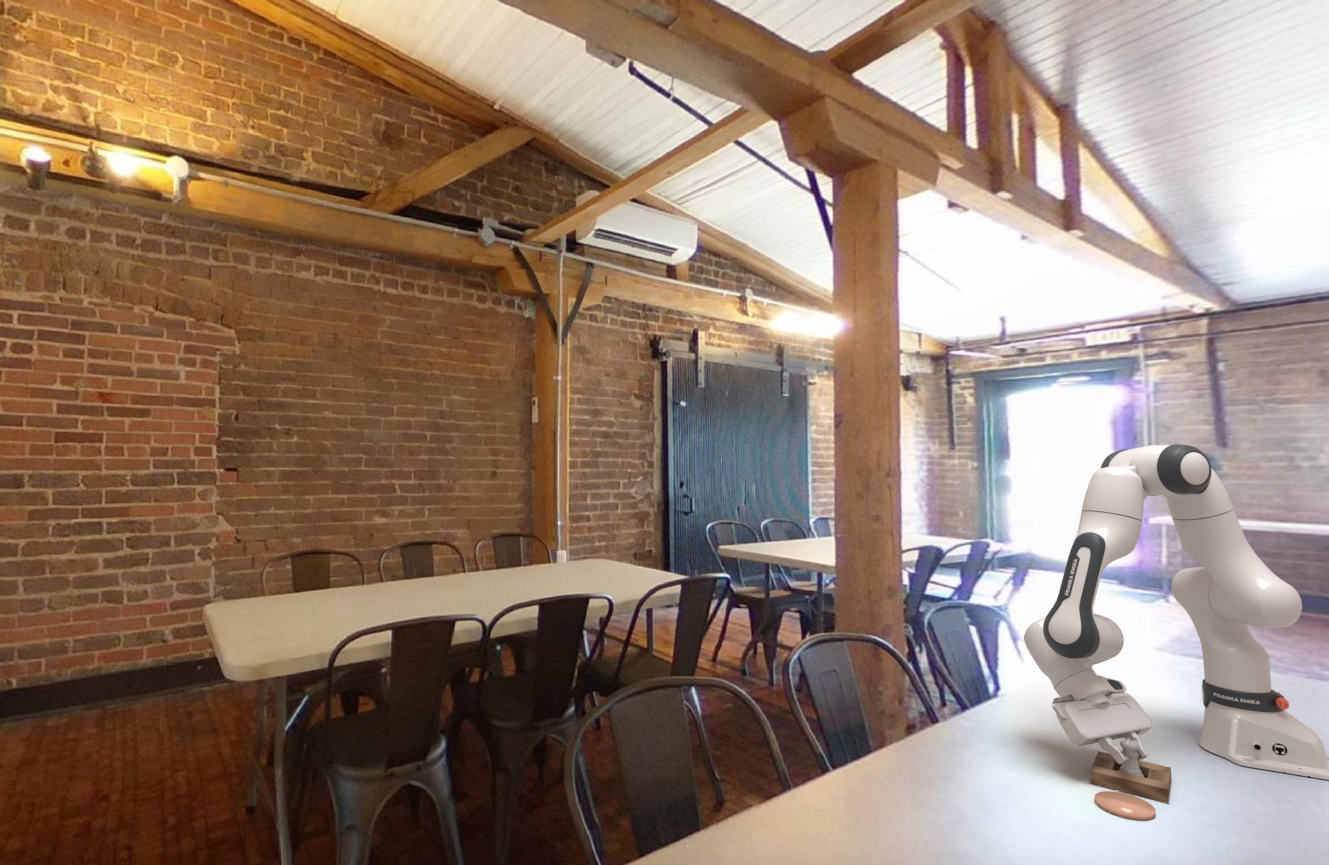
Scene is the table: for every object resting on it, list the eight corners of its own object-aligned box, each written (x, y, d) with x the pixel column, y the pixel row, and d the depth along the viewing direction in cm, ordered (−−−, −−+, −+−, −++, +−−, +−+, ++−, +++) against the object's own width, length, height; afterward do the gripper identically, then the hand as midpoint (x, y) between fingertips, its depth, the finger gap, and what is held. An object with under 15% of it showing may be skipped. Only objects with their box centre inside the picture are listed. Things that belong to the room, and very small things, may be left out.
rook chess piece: (1111, 777, 130) (1110, 736, 131) (1132, 776, 130) (1131, 735, 131) (1129, 788, 126) (1127, 745, 126) (1151, 787, 126) (1149, 744, 126)
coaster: (1157, 806, 119) (1157, 801, 119) (1154, 826, 112) (1153, 821, 112) (1098, 790, 124) (1098, 786, 124) (1091, 809, 117) (1091, 804, 117)
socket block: (1171, 780, 129) (1170, 767, 129) (1168, 803, 120) (1167, 789, 120) (1098, 763, 136) (1098, 751, 137) (1090, 783, 127) (1090, 770, 127)
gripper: (1057, 691, 132) (1106, 760, 122) (1127, 680, 139) (1179, 745, 129) (1038, 706, 136) (1085, 775, 126) (1107, 695, 143) (1157, 760, 133)
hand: (1133, 760), depth 128 cm, fingers open, 4 cm apart
